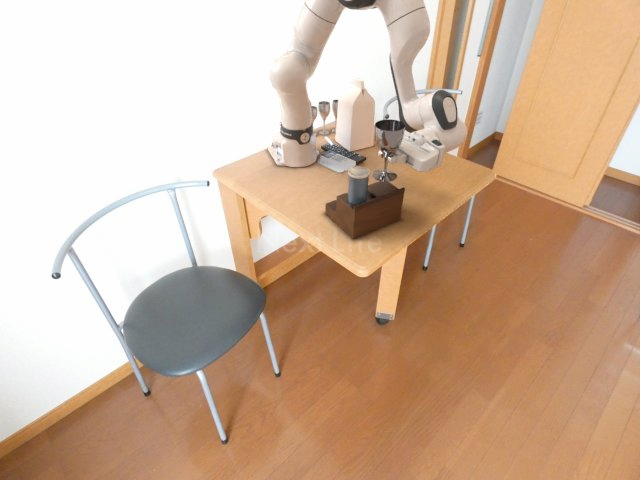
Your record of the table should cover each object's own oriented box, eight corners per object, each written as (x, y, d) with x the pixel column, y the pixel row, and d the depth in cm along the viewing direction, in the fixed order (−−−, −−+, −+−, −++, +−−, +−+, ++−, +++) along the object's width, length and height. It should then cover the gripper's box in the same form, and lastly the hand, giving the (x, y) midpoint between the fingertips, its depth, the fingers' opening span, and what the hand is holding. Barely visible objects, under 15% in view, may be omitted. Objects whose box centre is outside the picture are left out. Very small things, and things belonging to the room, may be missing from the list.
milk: (335, 140, 159) (336, 77, 143) (357, 135, 163) (361, 73, 147) (349, 151, 151) (353, 85, 134) (373, 145, 155) (379, 81, 139)
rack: (325, 213, 118) (325, 182, 110) (370, 197, 125) (373, 166, 117) (352, 239, 108) (355, 206, 100) (400, 219, 115) (405, 188, 108)
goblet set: (309, 138, 161) (308, 107, 153) (305, 133, 165) (304, 103, 157) (366, 128, 169) (369, 98, 161) (360, 123, 174) (362, 94, 165)
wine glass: (397, 183, 103) (404, 132, 94) (369, 181, 105) (373, 130, 95) (399, 170, 109) (405, 120, 100) (372, 167, 111) (376, 118, 101)
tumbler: (342, 197, 107) (344, 169, 101) (359, 191, 109) (361, 164, 103) (354, 207, 103) (356, 178, 97) (371, 201, 105) (374, 173, 99)
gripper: (398, 123, 113) (362, 133, 107) (449, 148, 100) (411, 161, 94) (396, 142, 117) (361, 153, 111) (444, 169, 104) (407, 183, 98)
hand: (384, 157), depth 103 cm, fingers closed on wine glass, 3 cm apart
